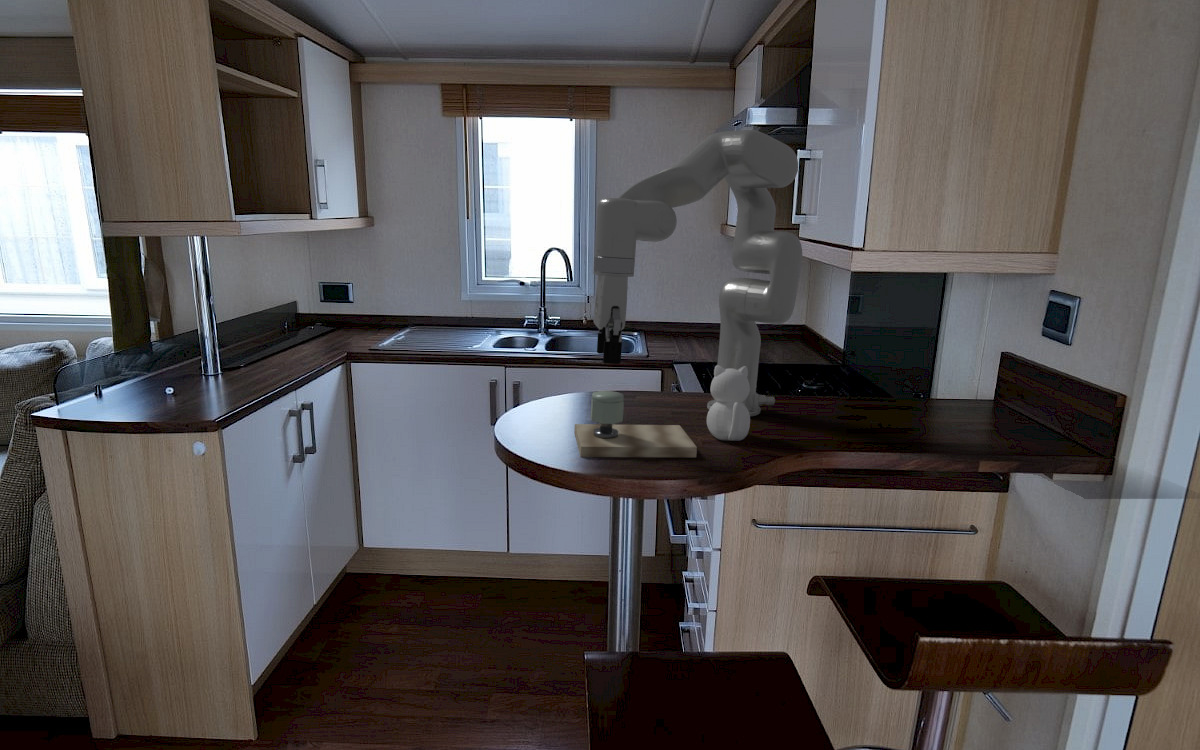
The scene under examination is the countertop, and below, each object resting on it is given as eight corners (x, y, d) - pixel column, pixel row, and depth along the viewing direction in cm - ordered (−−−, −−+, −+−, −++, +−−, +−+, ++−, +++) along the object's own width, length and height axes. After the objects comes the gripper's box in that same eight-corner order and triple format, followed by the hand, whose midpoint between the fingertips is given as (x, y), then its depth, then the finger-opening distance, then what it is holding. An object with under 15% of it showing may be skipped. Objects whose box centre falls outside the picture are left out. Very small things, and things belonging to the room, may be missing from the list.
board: (678, 434, 139) (679, 425, 138) (696, 457, 125) (697, 447, 125) (574, 433, 136) (574, 424, 136) (580, 456, 123) (581, 446, 122)
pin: (616, 431, 132) (618, 396, 131) (619, 439, 128) (621, 402, 126) (592, 431, 132) (593, 396, 130) (594, 438, 127) (596, 402, 125)
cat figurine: (740, 429, 145) (746, 362, 142) (758, 447, 132) (765, 374, 129) (699, 429, 144) (705, 361, 141) (714, 447, 132) (721, 373, 129)
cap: (619, 415, 132) (620, 391, 131) (624, 424, 126) (625, 398, 125) (589, 414, 131) (590, 390, 130) (592, 423, 126) (594, 397, 125)
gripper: (589, 263, 130) (584, 349, 134) (599, 269, 113) (593, 366, 117) (626, 265, 131) (620, 350, 135) (642, 271, 114) (635, 368, 118)
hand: (608, 358), depth 126 cm, fingers open, 9 cm apart
